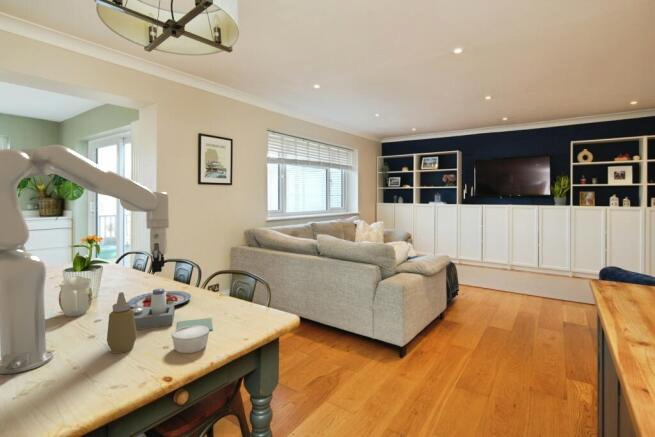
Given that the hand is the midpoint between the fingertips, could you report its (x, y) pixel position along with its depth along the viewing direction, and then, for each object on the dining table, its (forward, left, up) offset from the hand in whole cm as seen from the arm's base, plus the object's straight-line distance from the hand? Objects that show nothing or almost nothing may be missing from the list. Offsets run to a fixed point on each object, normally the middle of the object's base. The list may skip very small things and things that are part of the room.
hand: (158, 269), depth 128 cm
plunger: (0, +7, -19) cm, 21 cm away
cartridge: (0, 0, -20) cm, 20 cm away
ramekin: (-28, -12, -21) cm, 37 cm away
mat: (-10, -13, -20) cm, 26 cm away
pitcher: (+19, +32, -20) cm, 42 cm away
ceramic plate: (+25, +2, -21) cm, 33 cm away
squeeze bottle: (-23, +8, -20) cm, 32 cm away
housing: (0, +3, -20) cm, 20 cm away
